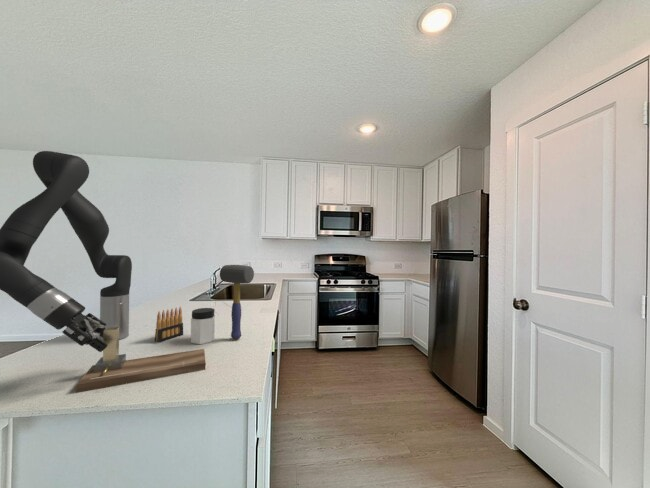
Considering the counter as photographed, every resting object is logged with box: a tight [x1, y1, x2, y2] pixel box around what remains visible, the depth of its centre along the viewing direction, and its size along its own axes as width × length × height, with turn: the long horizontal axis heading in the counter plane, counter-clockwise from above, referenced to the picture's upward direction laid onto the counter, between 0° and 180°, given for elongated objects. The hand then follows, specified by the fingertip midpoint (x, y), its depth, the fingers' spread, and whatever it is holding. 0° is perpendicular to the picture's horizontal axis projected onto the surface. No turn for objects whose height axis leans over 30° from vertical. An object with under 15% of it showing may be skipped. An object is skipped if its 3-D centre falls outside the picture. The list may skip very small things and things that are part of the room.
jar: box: [190, 307, 216, 345], centre depth 105 cm, size 9×8×12 cm
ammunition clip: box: [154, 306, 184, 344], centre depth 107 cm, size 11×2×12 cm, turn 153°
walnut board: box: [75, 348, 207, 393], centre depth 79 cm, size 12×30×2 cm, turn 116°
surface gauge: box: [94, 327, 127, 373], centre depth 76 cm, size 10×6×11 cm, turn 26°
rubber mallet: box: [219, 264, 255, 341], centre depth 106 cm, size 12×8×30 cm, turn 70°
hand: (109, 343), depth 77 cm, fingers open, 8 cm apart
